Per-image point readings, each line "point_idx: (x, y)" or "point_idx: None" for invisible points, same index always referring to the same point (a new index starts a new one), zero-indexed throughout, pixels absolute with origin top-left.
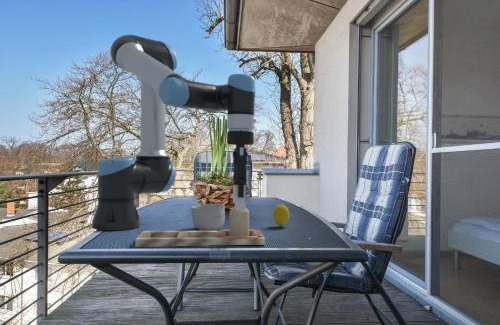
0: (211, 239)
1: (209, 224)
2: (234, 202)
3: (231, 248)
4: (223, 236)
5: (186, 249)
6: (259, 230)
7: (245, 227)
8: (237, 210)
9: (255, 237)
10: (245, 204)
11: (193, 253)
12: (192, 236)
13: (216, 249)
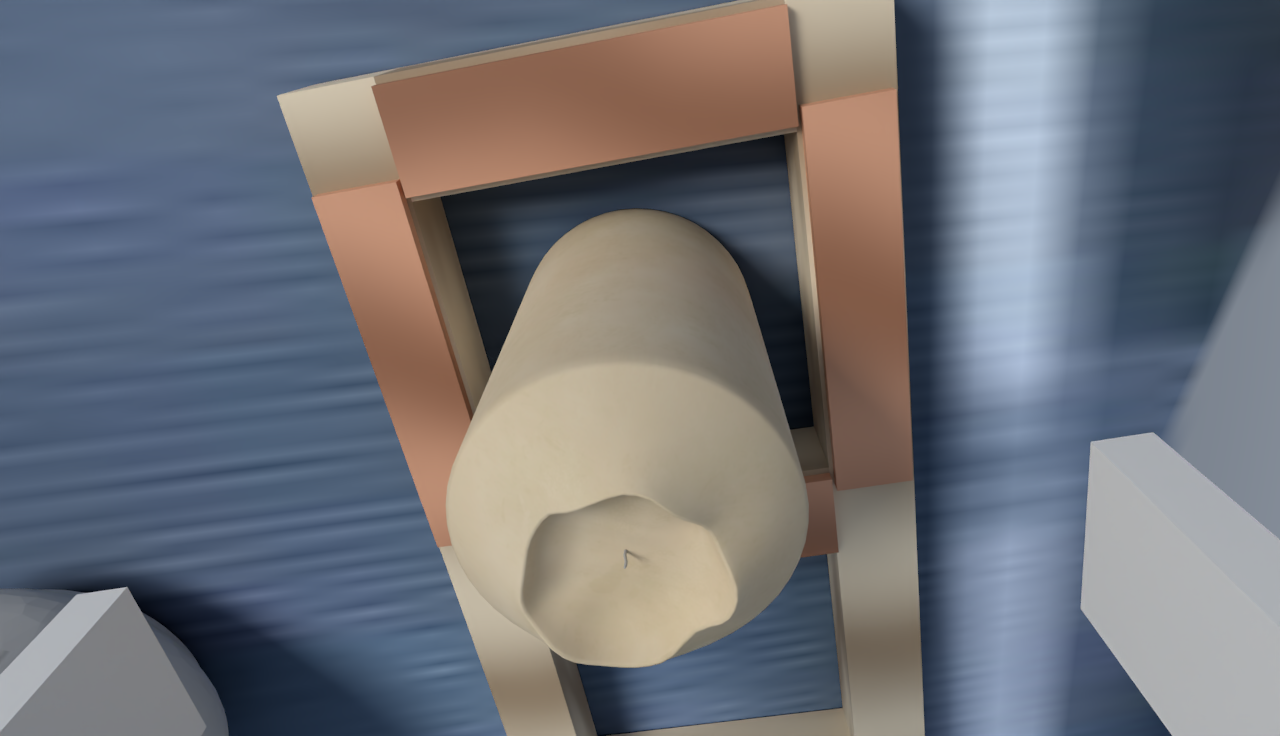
0: (916, 573)
1: (205, 707)
2: (189, 719)
3: (989, 349)
4: (831, 491)
5: (1010, 677)
6: (282, 107)
7: (736, 304)
8: (782, 560)
9: (896, 119)
10: (1227, 498)
11: None
12: (589, 729)
13: (1026, 472)
